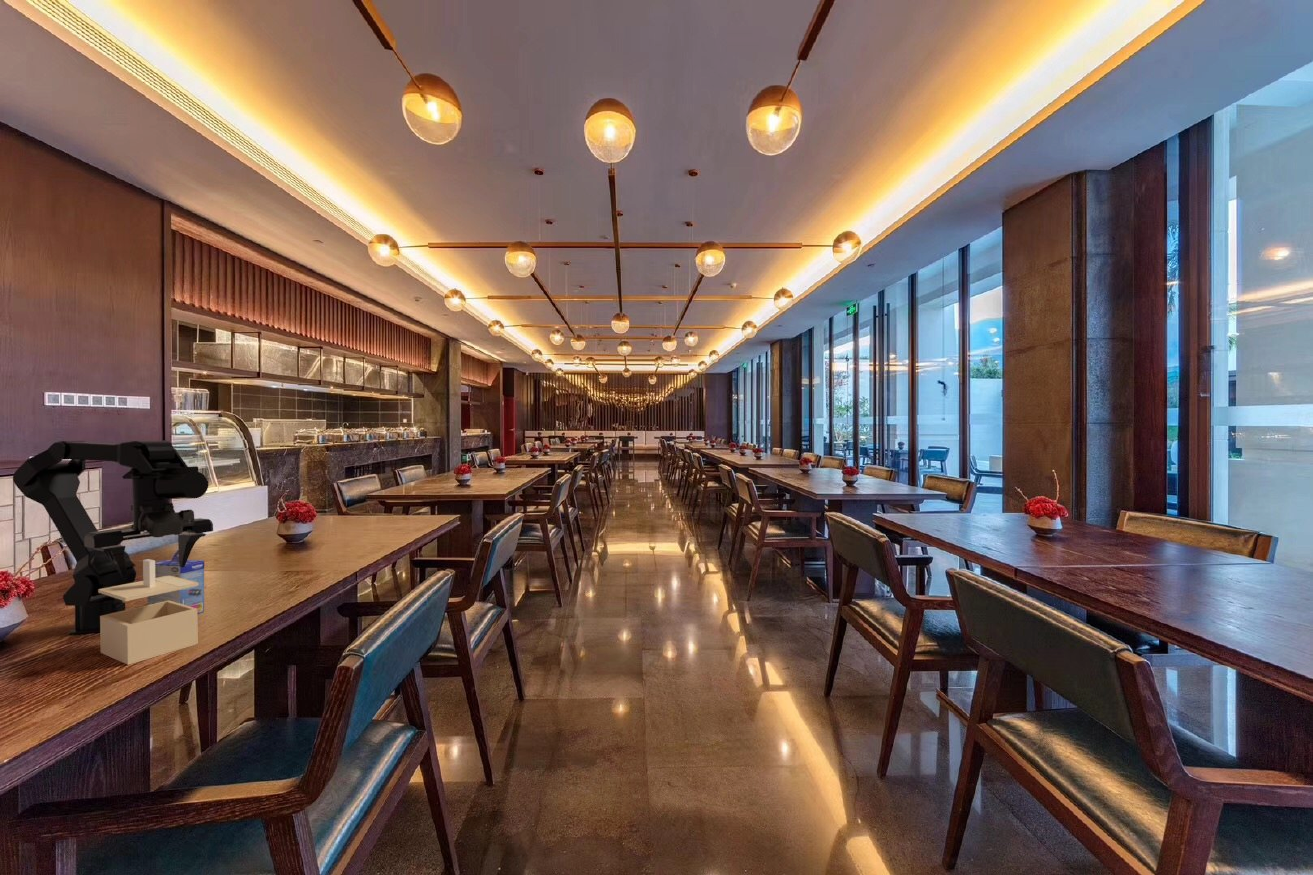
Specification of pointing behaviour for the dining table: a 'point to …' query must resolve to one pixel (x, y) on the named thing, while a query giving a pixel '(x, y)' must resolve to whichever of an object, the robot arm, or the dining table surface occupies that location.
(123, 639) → the carton
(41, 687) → the dining table surface
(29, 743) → the dining table surface
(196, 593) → the ink cartridge box
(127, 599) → the carton lid
